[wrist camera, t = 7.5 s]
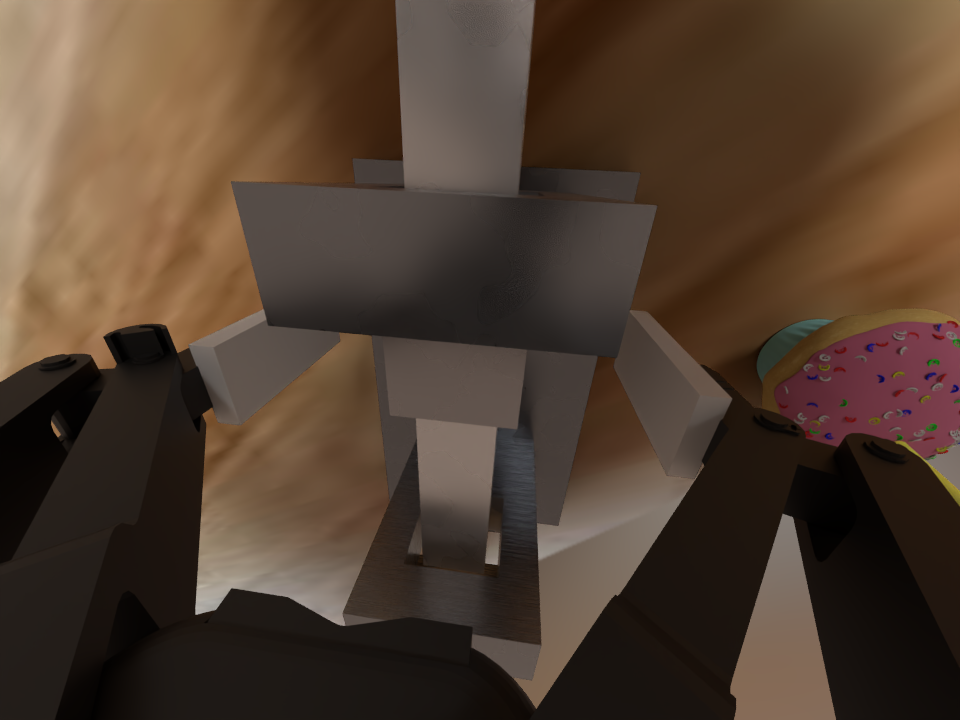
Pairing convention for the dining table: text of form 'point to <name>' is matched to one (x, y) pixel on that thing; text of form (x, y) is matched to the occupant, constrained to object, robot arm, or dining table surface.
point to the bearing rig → (467, 320)
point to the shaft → (468, 168)
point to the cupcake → (870, 379)
